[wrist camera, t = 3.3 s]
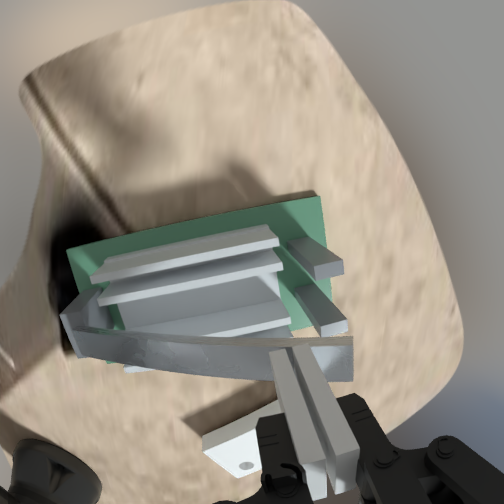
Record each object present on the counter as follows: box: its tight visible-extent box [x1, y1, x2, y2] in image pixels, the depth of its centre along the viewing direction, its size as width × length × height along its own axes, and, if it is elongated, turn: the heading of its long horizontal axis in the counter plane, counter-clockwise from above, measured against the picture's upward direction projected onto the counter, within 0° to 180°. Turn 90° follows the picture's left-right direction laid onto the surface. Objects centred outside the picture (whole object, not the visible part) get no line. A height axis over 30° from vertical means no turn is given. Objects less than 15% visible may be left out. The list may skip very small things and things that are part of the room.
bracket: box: [202, 400, 281, 478], centre depth 29 cm, size 13×7×8 cm, turn 121°
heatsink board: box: [60, 196, 348, 373], centre depth 24 cm, size 23×12×8 cm, turn 100°
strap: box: [71, 325, 354, 382], centre depth 17 cm, size 19×2×1 cm, turn 100°
